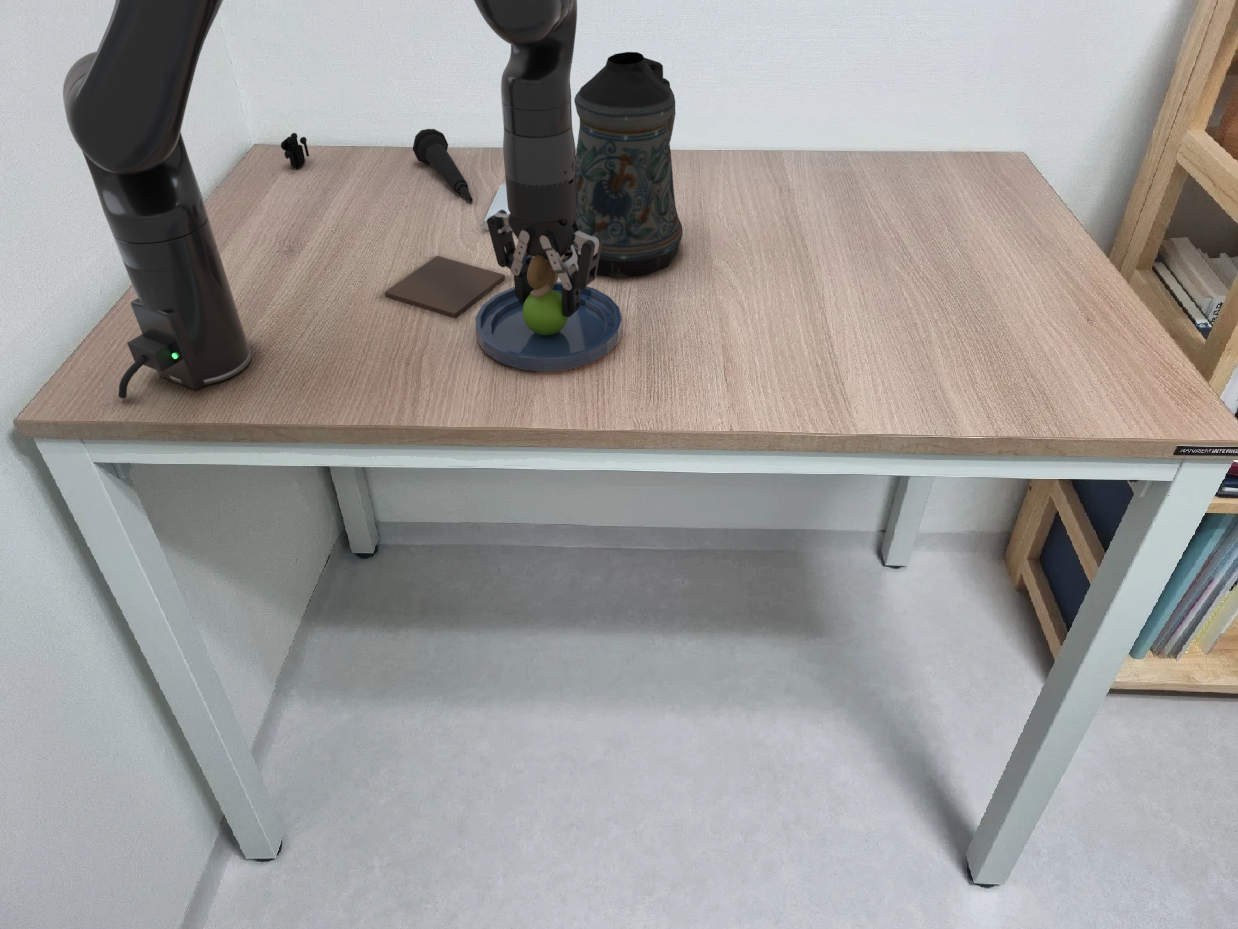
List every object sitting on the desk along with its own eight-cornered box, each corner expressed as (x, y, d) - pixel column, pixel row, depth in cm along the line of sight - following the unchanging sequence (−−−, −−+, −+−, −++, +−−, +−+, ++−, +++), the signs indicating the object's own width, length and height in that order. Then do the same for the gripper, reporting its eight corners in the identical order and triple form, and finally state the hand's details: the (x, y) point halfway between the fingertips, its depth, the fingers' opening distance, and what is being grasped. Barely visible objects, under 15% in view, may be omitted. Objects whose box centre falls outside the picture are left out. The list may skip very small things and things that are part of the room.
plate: (575, 390, 101) (574, 374, 100) (448, 349, 107) (446, 333, 106) (645, 318, 113) (646, 302, 111) (527, 284, 119) (526, 269, 117)
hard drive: (500, 183, 139) (483, 219, 129) (553, 185, 138) (540, 221, 129) (501, 193, 140) (484, 230, 130) (554, 195, 139) (541, 232, 130)
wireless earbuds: (293, 175, 145) (286, 143, 142) (279, 173, 145) (271, 142, 142) (312, 157, 150) (306, 127, 147) (298, 156, 150) (291, 125, 147)
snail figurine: (583, 324, 111) (580, 232, 103) (552, 349, 107) (547, 255, 99) (546, 311, 113) (541, 220, 105) (514, 335, 109) (507, 242, 101)
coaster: (455, 317, 113) (455, 313, 112) (385, 296, 117) (384, 291, 116) (505, 278, 120) (505, 274, 120) (437, 259, 124) (436, 255, 124)
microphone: (482, 218, 140) (436, 156, 152) (491, 183, 137) (443, 123, 148) (449, 215, 137) (404, 153, 148) (458, 180, 133) (411, 119, 145)
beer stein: (556, 278, 120) (547, 82, 104) (567, 213, 135) (560, 31, 118) (682, 281, 120) (693, 83, 103) (679, 215, 134) (688, 33, 118)
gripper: (463, 167, 97) (479, 306, 108) (581, 194, 92) (585, 338, 103) (503, 143, 102) (514, 278, 113) (617, 168, 97) (617, 307, 108)
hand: (548, 306), depth 108 cm, fingers closed on snail figurine, 5 cm apart
